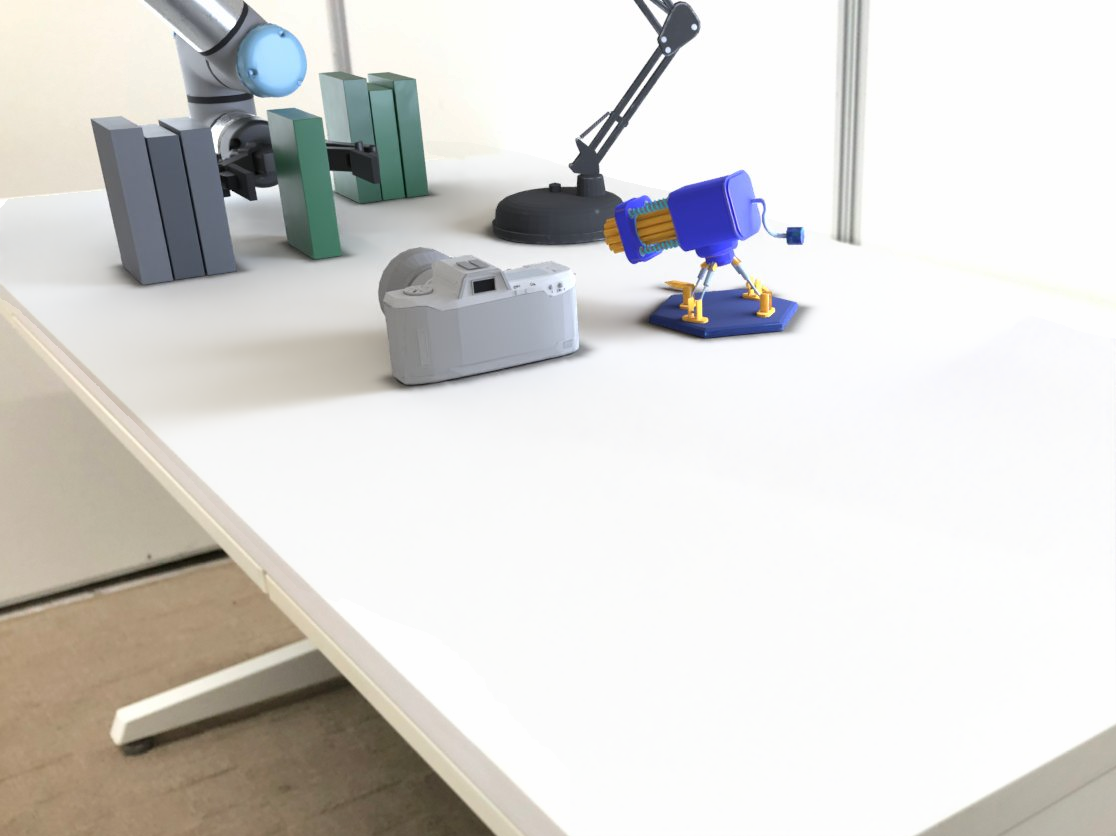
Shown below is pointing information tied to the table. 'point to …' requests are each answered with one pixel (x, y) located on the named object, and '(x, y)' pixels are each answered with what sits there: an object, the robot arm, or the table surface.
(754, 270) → the table surface
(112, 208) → the grey books
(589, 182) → the desk lamp
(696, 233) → the toy gatling gun
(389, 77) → the green books
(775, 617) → the table surface
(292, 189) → the green book
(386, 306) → the digital camera
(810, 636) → the table surface
